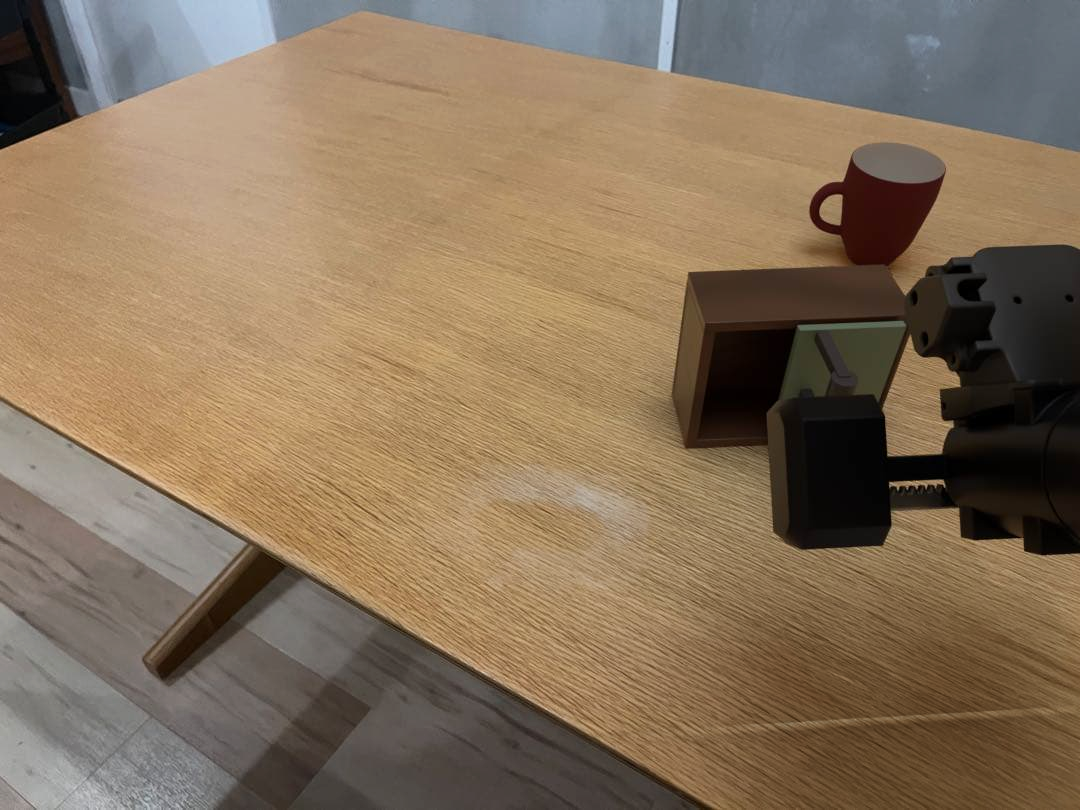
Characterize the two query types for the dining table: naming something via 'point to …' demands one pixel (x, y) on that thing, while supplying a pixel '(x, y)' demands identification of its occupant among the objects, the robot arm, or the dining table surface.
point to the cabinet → (763, 340)
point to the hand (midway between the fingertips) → (903, 458)
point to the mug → (882, 200)
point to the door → (841, 359)
